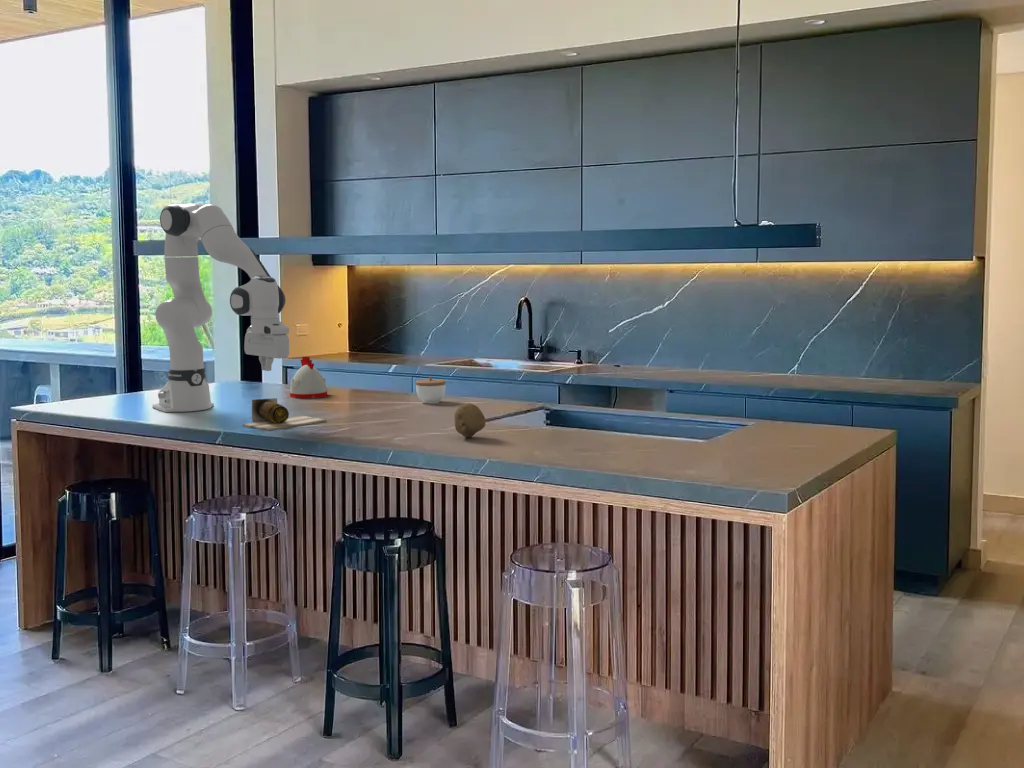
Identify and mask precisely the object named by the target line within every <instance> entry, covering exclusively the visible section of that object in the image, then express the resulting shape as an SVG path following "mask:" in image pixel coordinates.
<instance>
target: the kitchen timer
mask: <svg viewBox="0 0 1024 768" xmlns="http://www.w3.org/2000/svg"><path fill="white" fill-rule="evenodd" d="M300 365H301V367H300V368H298V370H297V371H296V372H295V374H294V375H293V377H292V378H290V388H289V398H292V399H318V398H325V397H327V396H328V389H327V385H326V377H323V375H322V374H321V372H320V371H319V370H318V369H317V368H316V367H315V363H313V360H312V359H310V356H302V358H301V359H300Z"/></svg>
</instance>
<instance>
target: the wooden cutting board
mask: <svg viewBox="0 0 1024 768" xmlns="http://www.w3.org/2000/svg"><path fill="white" fill-rule="evenodd" d="M325 422H327V419H324V418H317V417H313V416H306V415H295V416H289V417H288V419H287V420H286V421H285V422H283V423H274V422H271V421H267V420H266V421H260V422H246V423H242V427H245V428H251V429H252V428H253V429H257V430H261V431H274V430H275V431H276V430H281V429H282V430H283V429H287V428H288V429H289V428H294V426H295V427H299V426H300V425H301V426H306V424H308V425H312V424H313V423H314V424H318V423H325ZM314 424H313V425H314ZM301 426H300V427H301Z"/></svg>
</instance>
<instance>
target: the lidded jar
mask: <svg viewBox="0 0 1024 768" xmlns="http://www.w3.org/2000/svg"><path fill="white" fill-rule="evenodd" d="M446 384H447V382H446V380H444V379H439V378H433V376H432V375H431V376H429V377H428V379H426V378H425V379H418V380H416V381H415V391H416V394H417V397H418V399H419V400H420V401H421V402H422V404H427V405H429V404H432V405H433V404H439V403H440V402H441V401H442V399H443V398H444V396H445V394H446Z"/></svg>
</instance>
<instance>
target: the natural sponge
mask: <svg viewBox="0 0 1024 768" xmlns="http://www.w3.org/2000/svg"><path fill="white" fill-rule="evenodd" d="M485 417H486V416H484V413H483V411H482V410H481V409H480V407H478V406H477V405H476V404H473V403H464V404H461V405H459V407H457V408H456V410H455V412H454V428H455V430H456V432H457V433H458V434H460V435H461V436H463V438H467V439H468V438H472V437H473V436H474V435H476V434H477V433H478V432H481V431H482V430H483V429H484V428H485V426H486V422H487V420H486V418H485Z"/></svg>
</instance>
